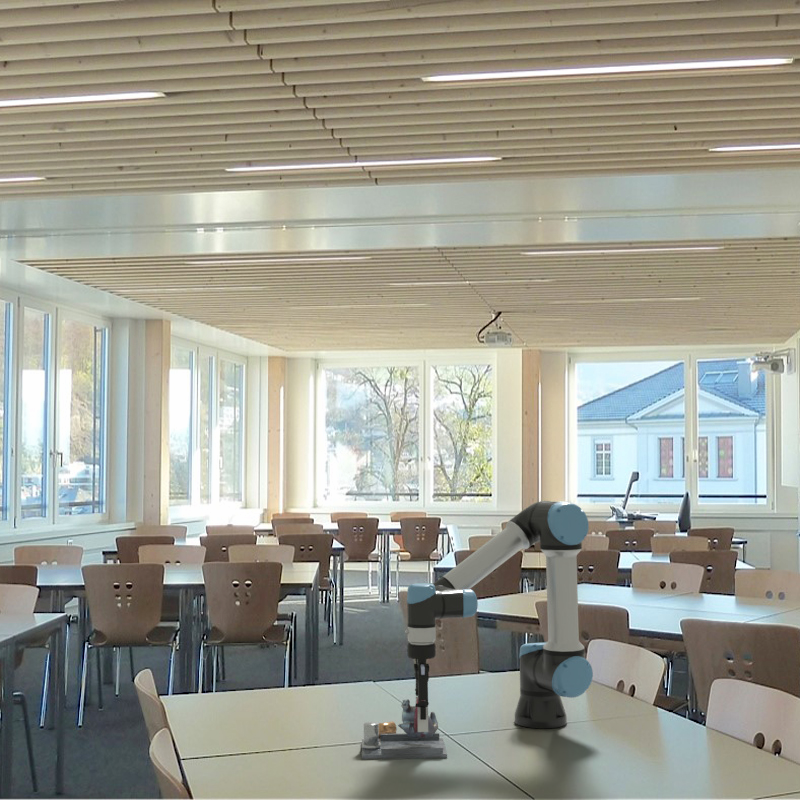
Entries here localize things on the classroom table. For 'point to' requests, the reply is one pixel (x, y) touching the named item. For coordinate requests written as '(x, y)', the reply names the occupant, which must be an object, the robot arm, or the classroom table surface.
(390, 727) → the golden brown rounded block
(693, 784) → the classroom table surface
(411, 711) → the brake caliper
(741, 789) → the classroom table surface
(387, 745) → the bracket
